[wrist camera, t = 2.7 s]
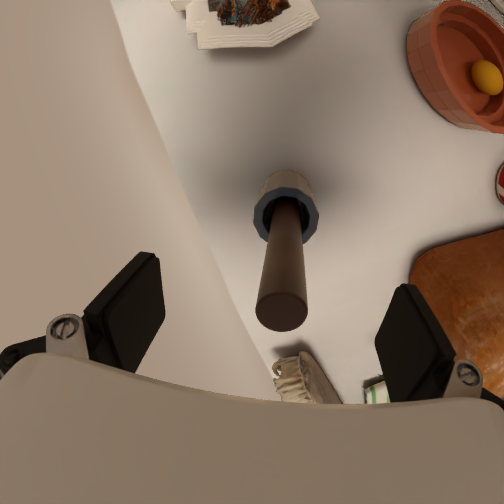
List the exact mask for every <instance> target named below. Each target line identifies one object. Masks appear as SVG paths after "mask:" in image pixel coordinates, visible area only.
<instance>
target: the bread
mask: <svg viewBox="0 0 504 504" xmlns="http://www.w3.org/2000/svg"><path fill="white" fill-rule="evenodd" d="M410 284H414V285H416V286H417V288H418V289H419V291H420V292H421V294H422V295H423V297H424V299H425V300H426V302H427V303H428V305H429V306H430V308H431V310H432V311H433V313H434V315H435V316H436V318H437V320H438V321H439V323H440V325H441V326H442V328H443V330H444V332H445V333H446V335H447V337H448V339H449V341H450V342H451V344H452V346H453V348H454V350H455V352H456V354H457V355H456V356H455V358H454V359H453V360H454V362H455V363H456V362H457V361H458V360H468V361H471V362H472V363H474V364H475V365H476V366H477V367H478V368H479V369H480V371H481V372H482V375H483V386H482V387H483V388H485V389H487V390H488V391H490V392H491V393H493V394H494V395H496V396H498V397H499V398H502V397H504V229H501V230H498V231H495V232H491V233H488V234H484V235H481V236H477V237H472V238H467V239H463V240H460V241H457V242H453V243H450V244H447V245H443V246H440V247H436V248H433V249H430V250H429V251H427V252H426V253H425V254H423V255H422V256H421V257H419V258H418V259H417V260H416V262H415V265H414V267H413V270H412V272H411V274H410Z"/></svg>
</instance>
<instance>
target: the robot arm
mask: <svg viewBox="0 0 504 504" xmlns="http://www.w3.org/2000/svg"><path fill="white" fill-rule="evenodd" d="M490 1H491V2H492V3H493V4H494V5H495V6H496V7H497V9H498V10H500V11H501V12H502V13H503V14H504V0H490ZM164 319H165V305H164V297H163V290H162V280H161V272H160V261H159V258H157V257H156V256H155V254H154V253H148V252H139V253H138V254H137V255H136V256H135V257H134V258H133V259H132V260H131V261H130V262H129V263H128V264H127V265H126V266H125V267H124V268H123V269H122V270H121V271H120V272H119V273H118V274H117V275H116V276H115V277H114V278H113V279H112V280H111V282H109V284H108V285H107V286H106V287H105V288H104V289H103V290H102V291H101V292H100V293H99V294H98V295H97V296H96V297H95V299H94V300H93V301H92V302H91V303H90V304H89V305H88V306H87V307H86V308H85V310H84V315H83V316H82V318H80V317H79V316H77V315H75V314H63V315H60V316H58V317H57V318H55V319H53V320H52V321H51V322H50V323H49V325H48V326H47V330H46V335H45V336H42V337H38V338H35V339H31V340H28V341H24V342H21V343H17V344H13V345H11V346H8V347H7V348H5V349H4V350H3V351H2V353H1V354H0V504H504V400H502V399H501V398H499V397H498V396H496V395H494V394H493V393H491V392H490V391H488V390H487V389H485V388H483V387H482V386H483V375H482V372H481V371H480V369H479V368H478V367H477V366H476V365H475V364H474V363H472V362H471V361H468V360H458V361H457V362H456V363H455V362H454V360H453V359H454V358H455V356H456V355H457V354H456V352H455V350H454V348H453V346H452V344H451V342H450V341H449V339H448V337H447V335H446V333H445V332H444V330H443V328H442V326H441V325H440V323H439V321H438V320H437V318H436V316H435V315H434V313H433V311H432V310H431V308H430V306H429V305H428V303H427V302H426V300H425V299H424V297H423V295H422V294H421V292H420V291H419V289H418V288H417V286H416V285H414V284H404V283H403V284H401V285H400V287H397V288H396V290H395V292H394V295H393V297H392V300H391V302H390V305H389V307H388V310H387V312H386V315H385V317H384V319H383V321H382V324H381V326H380V328H379V331H378V333H377V335H376V337H375V348H376V351H377V354H378V358H379V361H380V365H381V368H382V372H383V376H384V379H385V383H386V387H387V391H388V395H389V399H390V403H379V404H313V403H295V402H283V401H272V400H263V399H254V398H246V397H240V396H233V395H227V394H221V393H215V392H210V391H204V390H199V389H195V388H190V387H185V386H181V385H177V384H172V383H168V382H164V381H160V380H157V379H153V378H149V377H145V376H142V375H138V374H135V372H136V370H137V368H138V366H139V364H140V362H141V361H142V359H143V357H144V355H145V353H146V351H147V350H148V348H149V346H150V344H151V342H152V341H153V339H154V337H155V335H156V333H157V332H158V330H159V328H160V326H161V325H162V323H163V321H164Z"/></svg>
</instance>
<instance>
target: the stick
mask: <svg viewBox="0 0 504 504" xmlns="http://www.w3.org/2000/svg"><path fill="white" fill-rule="evenodd" d="M255 312H256V316H257V318H258V320H259V322H260V323H261V324H262V325H263V326H265V327H266V328H268V329H270V330H273V331H278V332H286V331H291V330H294V329H296V328H298V327H299V326H300V325H302V324H303V322H304V321H305V319H306V317H307V314H308V306H307V291H306V278H305V266H304V255H303V244H302V234H301V224H300V215H299V206H298V199H297V198H295V197H288V196H281V197H278V198H276V199H275V204H274V210H273V215H272V221H271V227H270V232H269V238H268V244H267V249H266V255H265V260H264V266H263V271H262V277H261V282H260V288H259V293H258V298H257V304H256V310H255Z"/></svg>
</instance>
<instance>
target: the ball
mask: <svg viewBox="0 0 504 504" xmlns="http://www.w3.org/2000/svg"><path fill="white" fill-rule="evenodd" d="M471 75H472V79H473V81H474V83H475V85H476V86H477V87H478V89H479V90H481V91H482V92H483V93H485V94H488V95H497V94H499V93H500V92H501V91H502V89H503V77H502V74H501V72H500V71H499V69H498V68H497V67H496V66H495V65H494V64H493V63H491V62H489V61H486V60H479V61H477V62H475V63H474V64H473V66H472V70H471Z"/></svg>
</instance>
